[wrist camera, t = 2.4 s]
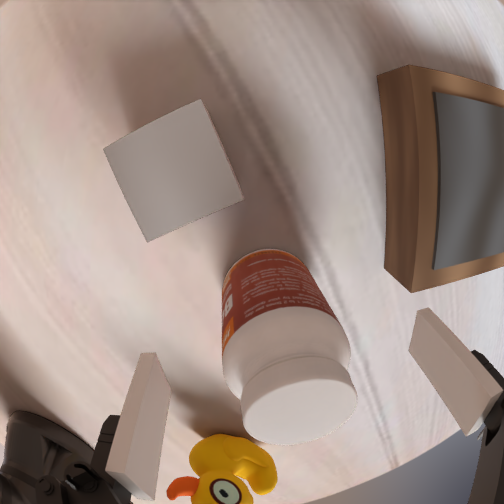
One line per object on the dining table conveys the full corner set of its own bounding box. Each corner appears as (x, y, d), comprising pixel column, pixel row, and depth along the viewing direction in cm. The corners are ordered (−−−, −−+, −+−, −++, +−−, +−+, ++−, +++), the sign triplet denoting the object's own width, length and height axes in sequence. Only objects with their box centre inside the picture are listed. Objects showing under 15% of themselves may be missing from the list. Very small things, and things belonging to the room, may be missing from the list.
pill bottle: (210, 259, 19) (197, 386, 9) (301, 235, 19) (377, 337, 9) (236, 333, 22) (246, 464, 11) (315, 311, 21) (372, 430, 11)
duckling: (166, 435, 26) (157, 514, 17) (183, 411, 24) (175, 501, 15) (257, 457, 29) (266, 527, 19) (282, 437, 27) (297, 514, 18)
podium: (384, 268, 21) (413, 295, 17) (376, 75, 16) (411, 63, 12) (495, 244, 21) (524, 261, 17) (498, 100, 16) (531, 100, 12)
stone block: (167, 217, 18) (147, 242, 13) (134, 146, 16) (102, 148, 12) (239, 185, 18) (244, 199, 13) (207, 111, 16) (200, 98, 11)
